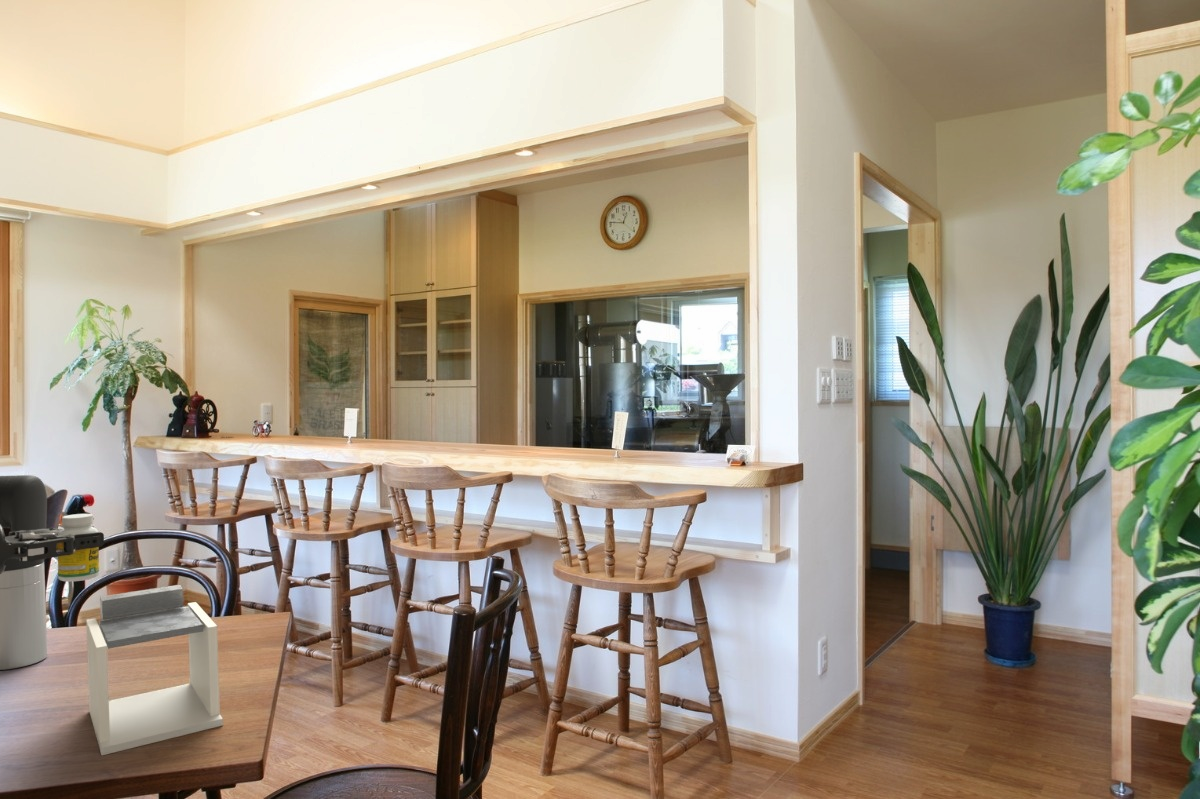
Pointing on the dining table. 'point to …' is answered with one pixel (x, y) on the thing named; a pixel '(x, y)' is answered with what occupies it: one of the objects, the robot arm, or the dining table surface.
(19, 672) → the dining table surface
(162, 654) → the dining table surface
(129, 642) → the trapdoor
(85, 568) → the supplement bottle
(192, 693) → the trapdoor stand
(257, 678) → the dining table surface
